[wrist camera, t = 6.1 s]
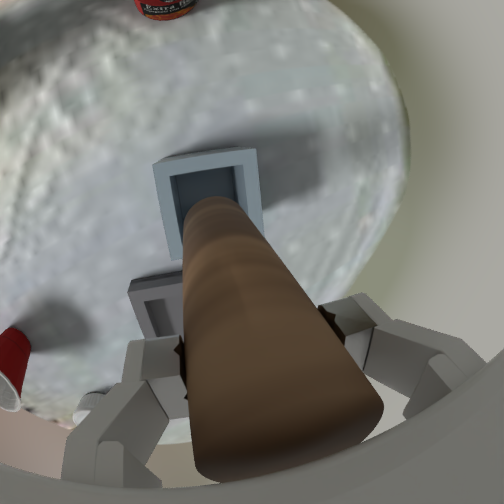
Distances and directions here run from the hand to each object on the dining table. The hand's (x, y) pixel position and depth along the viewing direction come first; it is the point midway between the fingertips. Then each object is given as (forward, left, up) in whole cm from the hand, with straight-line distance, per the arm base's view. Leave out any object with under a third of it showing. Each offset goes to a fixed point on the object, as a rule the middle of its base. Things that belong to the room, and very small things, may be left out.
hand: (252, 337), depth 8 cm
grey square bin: (0, 0, -25) cm, 25 cm away
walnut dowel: (0, 0, -10) cm, 10 cm away
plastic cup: (+17, -37, -26) cm, 48 cm away
